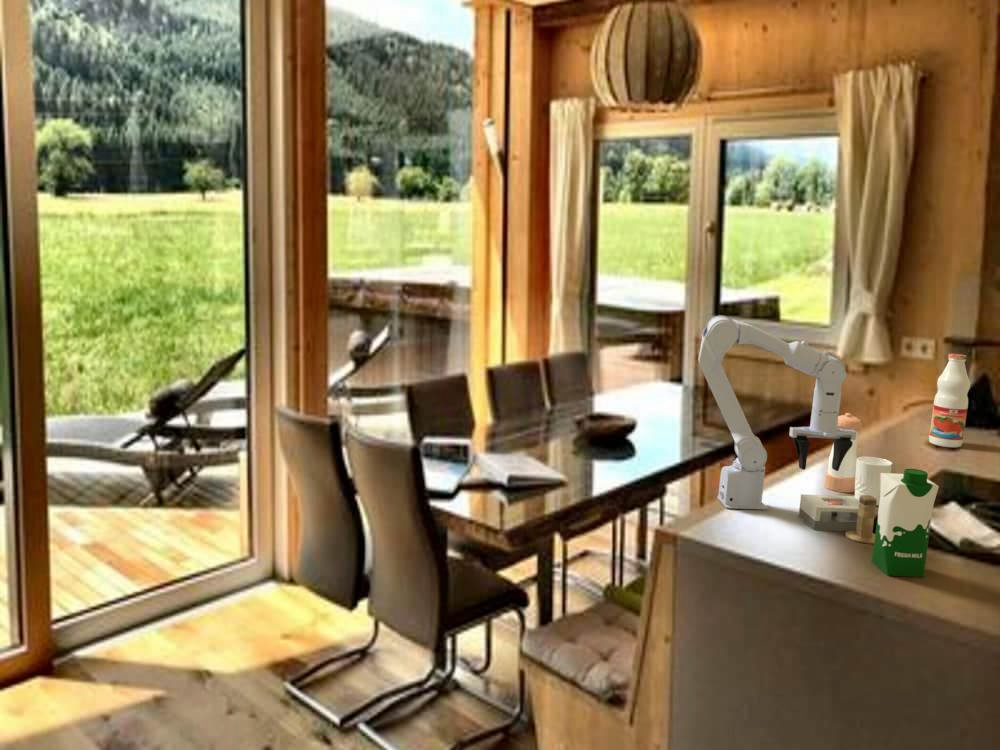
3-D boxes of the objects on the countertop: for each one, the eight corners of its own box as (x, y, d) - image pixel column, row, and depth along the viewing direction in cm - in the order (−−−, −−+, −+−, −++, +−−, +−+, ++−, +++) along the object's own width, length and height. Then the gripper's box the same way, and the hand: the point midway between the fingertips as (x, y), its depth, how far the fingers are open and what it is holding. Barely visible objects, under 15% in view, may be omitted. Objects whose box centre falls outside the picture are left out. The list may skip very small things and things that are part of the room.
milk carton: (884, 577, 169) (898, 474, 165) (864, 559, 178) (876, 460, 174) (931, 579, 169) (945, 476, 166) (908, 561, 178) (921, 462, 175)
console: (814, 529, 194) (816, 507, 193) (798, 515, 203) (801, 494, 202) (868, 531, 194) (871, 509, 193) (851, 517, 203) (853, 496, 202)
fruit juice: (959, 442, 283) (972, 354, 278) (963, 449, 274) (977, 358, 269) (926, 438, 286) (939, 351, 281) (929, 445, 277) (942, 355, 272)
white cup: (865, 507, 212) (870, 465, 210) (844, 496, 219) (849, 456, 217) (894, 505, 214) (899, 465, 212) (872, 495, 221) (877, 456, 220)
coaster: (854, 543, 187) (854, 541, 187) (840, 531, 194) (840, 529, 193) (887, 544, 187) (887, 542, 187) (872, 532, 194) (872, 530, 194)
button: (830, 516, 197) (831, 505, 196) (824, 511, 200) (826, 500, 199) (843, 516, 197) (845, 505, 196) (838, 512, 200) (839, 501, 199)
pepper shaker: (857, 493, 222) (867, 417, 219) (826, 490, 223) (835, 414, 220) (852, 485, 229) (861, 411, 226) (822, 482, 230) (830, 409, 227)
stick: (860, 537, 189) (865, 498, 187) (855, 533, 191) (860, 495, 190) (871, 538, 189) (877, 499, 188) (866, 534, 192) (871, 495, 190)
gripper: (800, 412, 198) (793, 472, 201) (864, 415, 199) (857, 475, 201) (788, 406, 205) (782, 464, 208) (851, 408, 206) (844, 466, 208)
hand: (818, 469), depth 205 cm, fingers open, 7 cm apart
